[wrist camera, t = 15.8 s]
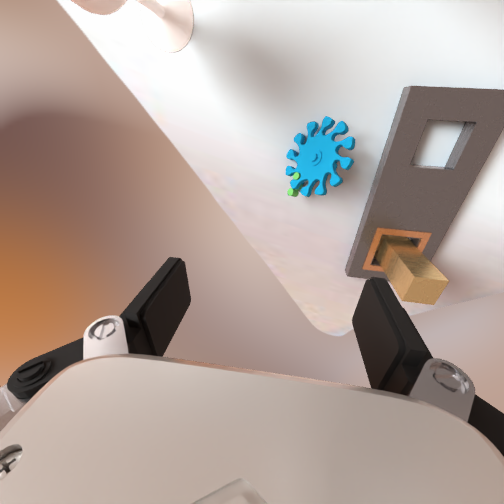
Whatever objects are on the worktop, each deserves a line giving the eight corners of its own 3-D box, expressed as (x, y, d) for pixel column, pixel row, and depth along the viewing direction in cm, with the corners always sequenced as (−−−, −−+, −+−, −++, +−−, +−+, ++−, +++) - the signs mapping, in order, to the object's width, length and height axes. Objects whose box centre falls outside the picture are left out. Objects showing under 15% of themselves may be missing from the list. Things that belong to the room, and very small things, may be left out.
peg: (381, 234, 38) (414, 276, 28) (406, 236, 38) (449, 281, 28) (373, 254, 40) (401, 300, 30) (396, 256, 40) (433, 304, 30)
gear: (318, 98, 29) (369, 147, 25) (340, 115, 33) (386, 160, 29) (268, 169, 35) (301, 216, 31) (291, 176, 39) (323, 219, 35)
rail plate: (403, 87, 28) (412, 85, 26) (509, 92, 27) (525, 90, 25) (344, 269, 43) (347, 276, 41) (411, 277, 42) (417, 285, 40)
